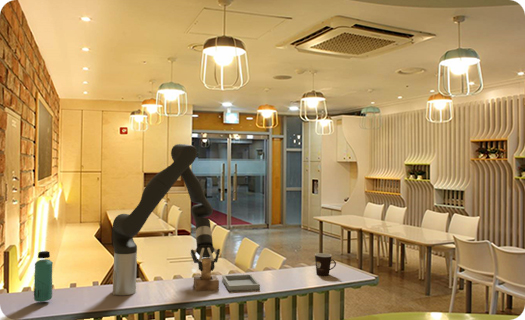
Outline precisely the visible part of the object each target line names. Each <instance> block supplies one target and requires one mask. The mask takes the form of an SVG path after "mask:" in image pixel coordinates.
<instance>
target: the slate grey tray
mask: <svg viewBox="0 0 525 320" xmlns="http://www.w3.org/2000/svg"><path fill="white" fill-rule="evenodd" d="M221 280H222V283H223V284H224V286H225V287H226V289H227V291H228V292H230V293H231V292H232V293H233V292H249V291H260V290H261V284H260V282H258V280H257V279H256V278H255V277H254V276H253V275H252V274H251V273H250V274H249V273H248V274H230V275H229V274H226V275H222V279H221Z"/></svg>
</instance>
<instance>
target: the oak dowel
mask: <svg viewBox="0 0 525 320" xmlns="http://www.w3.org/2000/svg"><path fill="white" fill-rule="evenodd" d="M201 262H202V271H200V275H201V280H211V275H212V271H211V258H206V257H205V258H202V260H201Z"/></svg>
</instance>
